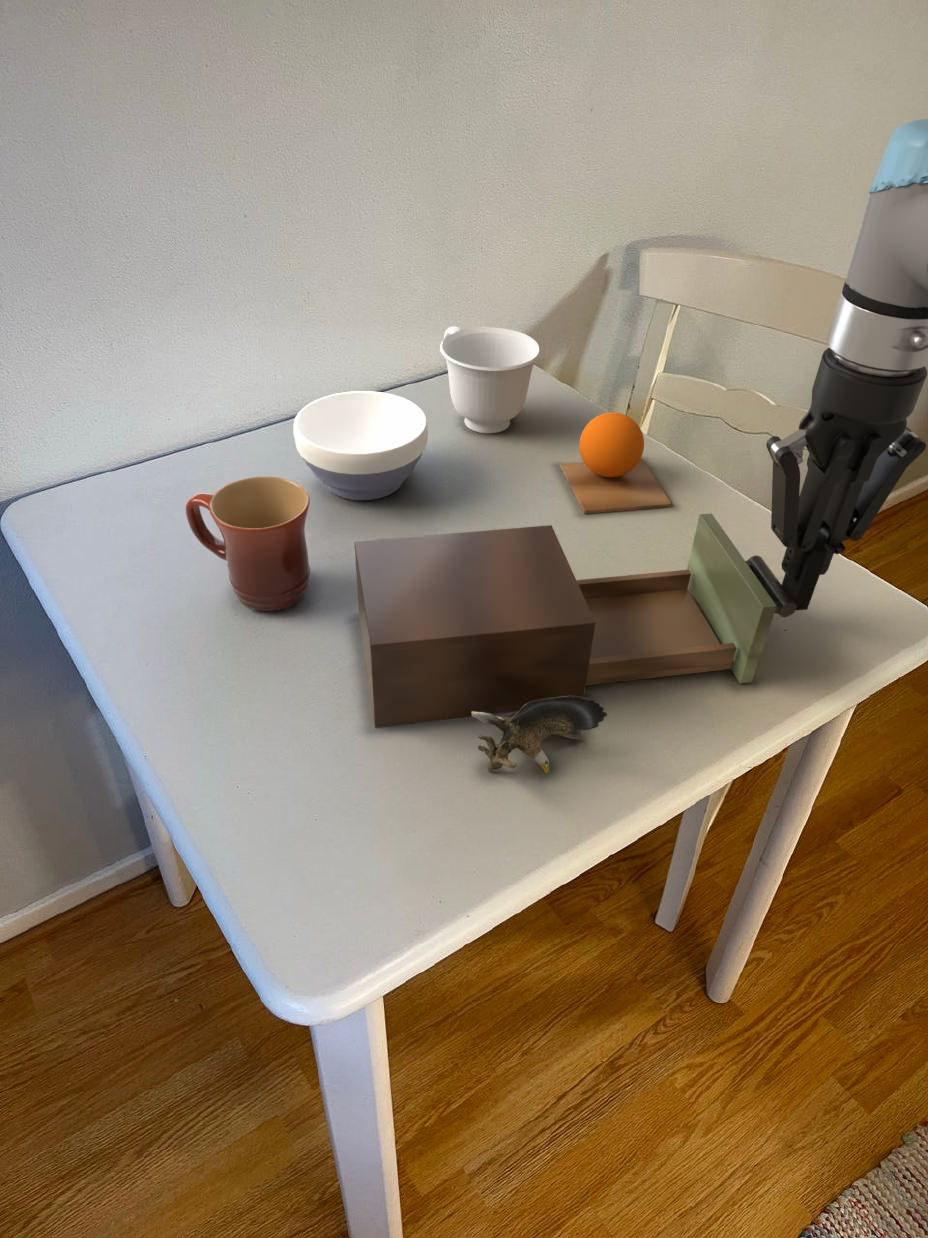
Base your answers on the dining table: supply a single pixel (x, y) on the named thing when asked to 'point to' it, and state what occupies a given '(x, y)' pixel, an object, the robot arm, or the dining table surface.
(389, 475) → the bowl
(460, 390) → the teacup
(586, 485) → the coaster
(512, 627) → the cabinet
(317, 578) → the dining table surface
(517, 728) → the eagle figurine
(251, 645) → the dining table surface
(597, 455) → the orange
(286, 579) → the mug
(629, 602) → the drawer
